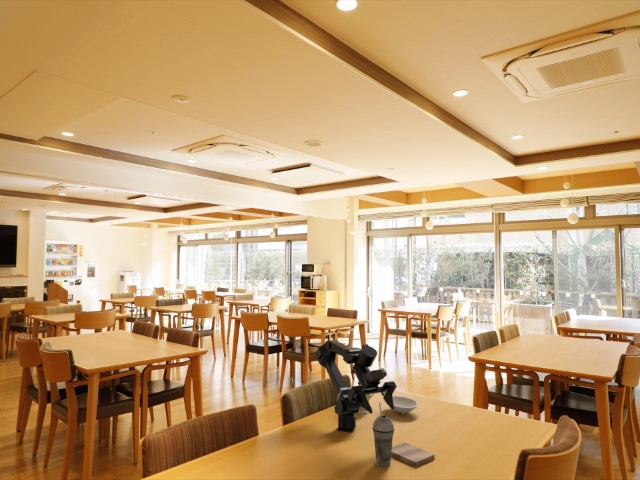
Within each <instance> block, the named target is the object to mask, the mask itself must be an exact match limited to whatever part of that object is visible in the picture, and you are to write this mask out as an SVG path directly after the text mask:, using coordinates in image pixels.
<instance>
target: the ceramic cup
mask: <svg viewBox="0 0 640 480" xmlns="http://www.w3.org/2000/svg"><path fill="white" fill-rule="evenodd" d="M348 388H349V389H351V388H352V386H350V387H348ZM374 395H375V394H366V398H367V400H368V402H369V403H370V400H371V398H372V397H373V396H374ZM367 412H368V411H367V410H365V409H364V408H363V407H361V406H360V407H359V412H358V413H357V414H366V413H367Z"/></svg>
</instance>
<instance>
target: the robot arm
mask: <svg viewBox="0 0 640 480" xmlns="http://www.w3.org/2000/svg"><path fill="white" fill-rule="evenodd" d="M314 354H315V359H316V361H317V362H318V363H319V365H320V366H322V367H323V368H325V369H326V372H327V374H328V377H329V378H330V381H331V383H332V385H333V387H334V389H335V390H336V393H337V399H336V402H337V403H336V404H335V406H334V413H335V414H336V415H337V428H336V430H337V431H340V432H341V431H342V432H349V433H353V432H354V430H355V429H356V428H357V417H356V414H359V413H358V412H359V407H360V406H361V407H363V408H364V409H365V410H367V412H368V413H369V414H373V408H372V406H371V404H370V401H369V402H368V400H367V398H366V394H371V395H372V394H374V395H375V394H381V396H383V397H382V399H383V401H384V400H385V401H386V402H385V401H384V402H385V404H386V405H387V404H388V405H387V406H388V407H389V409H391V411H394V403H393V396H394V395H393V394H394V392H395V391H396V389H397V387H398V385H397V384H396V382H395V381H393V380H390V381H384V383H383V384H382V386H379V385H381V381H382V380H384V379H385V377H387V375H388V372H387V371H386V370H385V367H380V368H378V369H374V370H371V369H370V368H371V367H372V365H373V363H374V362H375V360H376V358H377V356H378V351H377V350H376V348H374V347H372V346H370V345H369V344H368V343H364V344H363V345H362V347H361V348H360V347H350V346H348V345H346V344H344V343H342V342H340V341H339V340H336V339H328V340H326V341H325V342H324V343H323V344H322V345H320V346H318V348H317V350H316V351H315V353H314ZM337 355H339V356H341V357H342V361H343V362H345V363H346V364H347V365H352V364H353V365H352V367H351V371H350V373H351V375H353V374H354V375H355V377H356V378H357V385H353V386H351V387H352V388H351V389H349V388H350V387H348V385H347V383H346V381H345V379H344V377H343V375H342V373H341V371H340V369H339V367H338V365H337V363H336V359H337Z"/></svg>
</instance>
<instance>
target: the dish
mask: <svg viewBox="0 0 640 480" xmlns="http://www.w3.org/2000/svg"><path fill="white" fill-rule="evenodd" d="M392 396H393V403H394V410H393V411H395V412H397V413H399V414H404V413H406V414H407V413H410V412H412V411H414V410H415V409H416V408H417V407H419V404H420V403H419V402H418V401H417V400H415V399H413V398H411V397H407V396H403V395H402V396H401V395H392ZM383 401H384V403H386V401H385V400H384V399H383ZM386 405H387V406H388V404H387V403H386Z"/></svg>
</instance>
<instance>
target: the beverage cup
mask: <svg viewBox="0 0 640 480" xmlns="http://www.w3.org/2000/svg"><path fill="white" fill-rule="evenodd" d="M378 404H379V414H380V416H378V417H376V418H375V419H374V420H373V424H372V432H373V438H374V450H375V460H376V462H375V463H376V465H377V466H378V467H380V468H388V467H390V466H391V461H392V456H391V451H392V447H393V439H394V437H393V436H394V432H395V427H394V423H393V420H392V419H391V418H390V417H388V416H387V415H383V412H382V411H383V410H382V405H381V404H382V402H378Z"/></svg>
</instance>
